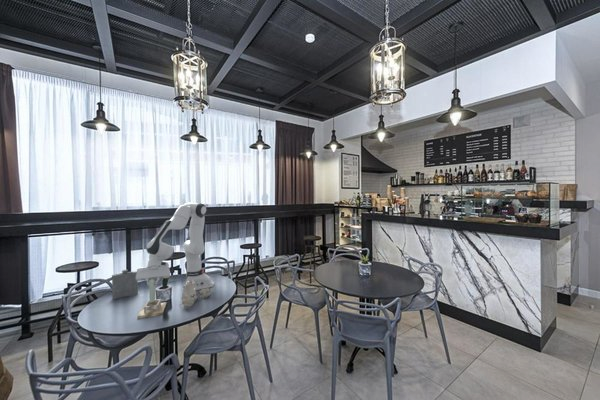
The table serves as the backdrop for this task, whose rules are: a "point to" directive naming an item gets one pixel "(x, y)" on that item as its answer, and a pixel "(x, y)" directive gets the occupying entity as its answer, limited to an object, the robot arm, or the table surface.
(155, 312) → the end cap stand
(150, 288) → the slat
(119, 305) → the table surface
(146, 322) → the table surface
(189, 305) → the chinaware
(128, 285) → the hip flask
